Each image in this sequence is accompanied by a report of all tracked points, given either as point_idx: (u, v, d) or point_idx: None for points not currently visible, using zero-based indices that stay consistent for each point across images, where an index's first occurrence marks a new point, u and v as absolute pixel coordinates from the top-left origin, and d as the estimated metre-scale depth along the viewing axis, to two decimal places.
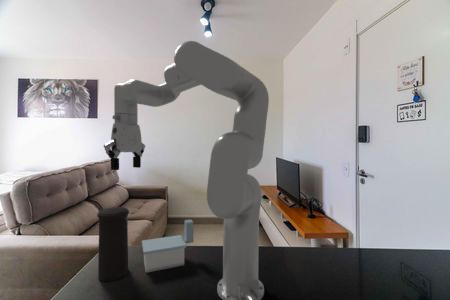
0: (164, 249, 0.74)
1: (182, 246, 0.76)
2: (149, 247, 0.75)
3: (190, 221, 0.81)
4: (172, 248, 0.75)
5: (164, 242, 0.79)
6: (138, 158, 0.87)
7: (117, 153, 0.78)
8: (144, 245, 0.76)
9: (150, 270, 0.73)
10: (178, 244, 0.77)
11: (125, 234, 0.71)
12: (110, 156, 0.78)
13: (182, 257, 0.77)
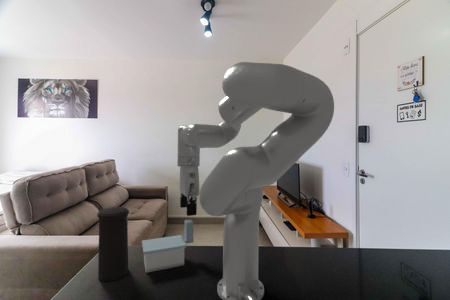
0: (164, 249, 0.74)
1: (182, 246, 0.76)
2: (149, 247, 0.75)
3: (190, 221, 0.81)
4: (172, 248, 0.75)
5: (164, 242, 0.79)
6: None
7: None
8: (144, 245, 0.76)
9: (150, 270, 0.73)
10: (178, 244, 0.77)
11: (125, 234, 0.71)
12: (192, 202, 0.75)
13: (182, 257, 0.77)
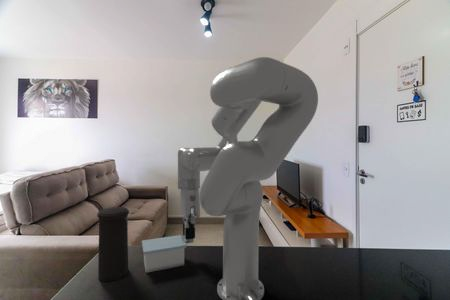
0: (164, 249, 0.74)
1: (182, 246, 0.76)
2: (149, 247, 0.75)
3: None
4: (172, 248, 0.75)
5: (164, 242, 0.79)
6: None
7: None
8: (144, 245, 0.76)
9: (150, 270, 0.73)
10: (178, 244, 0.77)
11: (125, 234, 0.71)
12: (190, 226, 0.78)
13: (182, 257, 0.77)
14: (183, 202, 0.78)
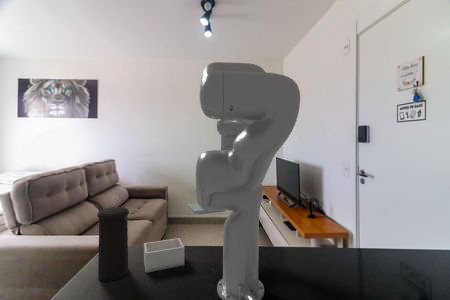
0: (212, 210, 0.79)
1: None
2: (197, 208, 0.79)
3: None
4: None
5: None
6: None
7: None
8: (192, 207, 0.81)
9: (150, 270, 0.73)
10: None
11: (125, 234, 0.71)
12: None
13: (182, 257, 0.77)
14: None
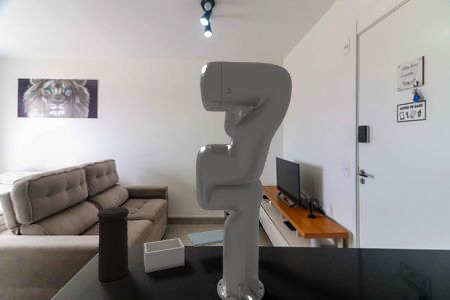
0: (212, 242, 0.79)
1: None
2: (197, 240, 0.80)
3: None
4: (219, 241, 0.80)
5: (209, 235, 0.84)
6: None
7: None
8: (192, 238, 0.81)
9: (150, 270, 0.73)
10: None
11: (125, 234, 0.71)
12: None
13: (182, 257, 0.77)
14: None
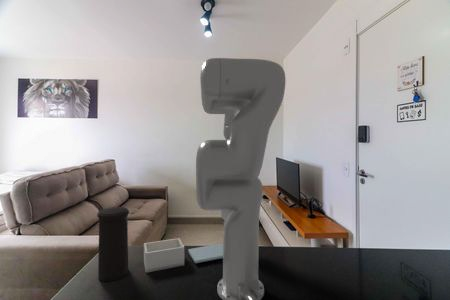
0: (213, 258, 0.79)
1: None
2: (198, 256, 0.80)
3: None
4: (220, 257, 0.80)
5: (210, 250, 0.84)
6: None
7: None
8: (193, 254, 0.81)
9: (150, 270, 0.73)
10: None
11: (125, 234, 0.71)
12: None
13: (182, 257, 0.77)
14: None
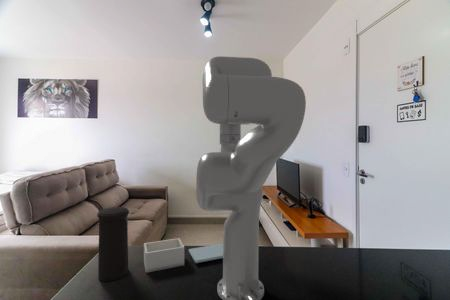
0: (213, 258, 0.79)
1: None
2: (198, 255, 0.80)
3: None
4: (220, 257, 0.80)
5: (210, 250, 0.84)
6: None
7: None
8: (193, 254, 0.81)
9: (150, 270, 0.73)
10: None
11: (125, 234, 0.71)
12: None
13: (182, 257, 0.77)
14: None
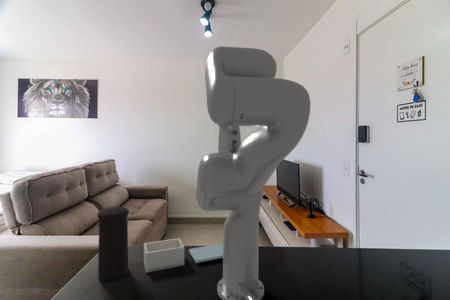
0: (213, 257, 0.79)
1: None
2: (198, 255, 0.80)
3: None
4: (220, 256, 0.80)
5: (210, 250, 0.84)
6: None
7: None
8: (193, 254, 0.81)
9: (150, 270, 0.73)
10: None
11: (125, 234, 0.71)
12: None
13: (182, 257, 0.77)
14: (224, 138, 0.80)
